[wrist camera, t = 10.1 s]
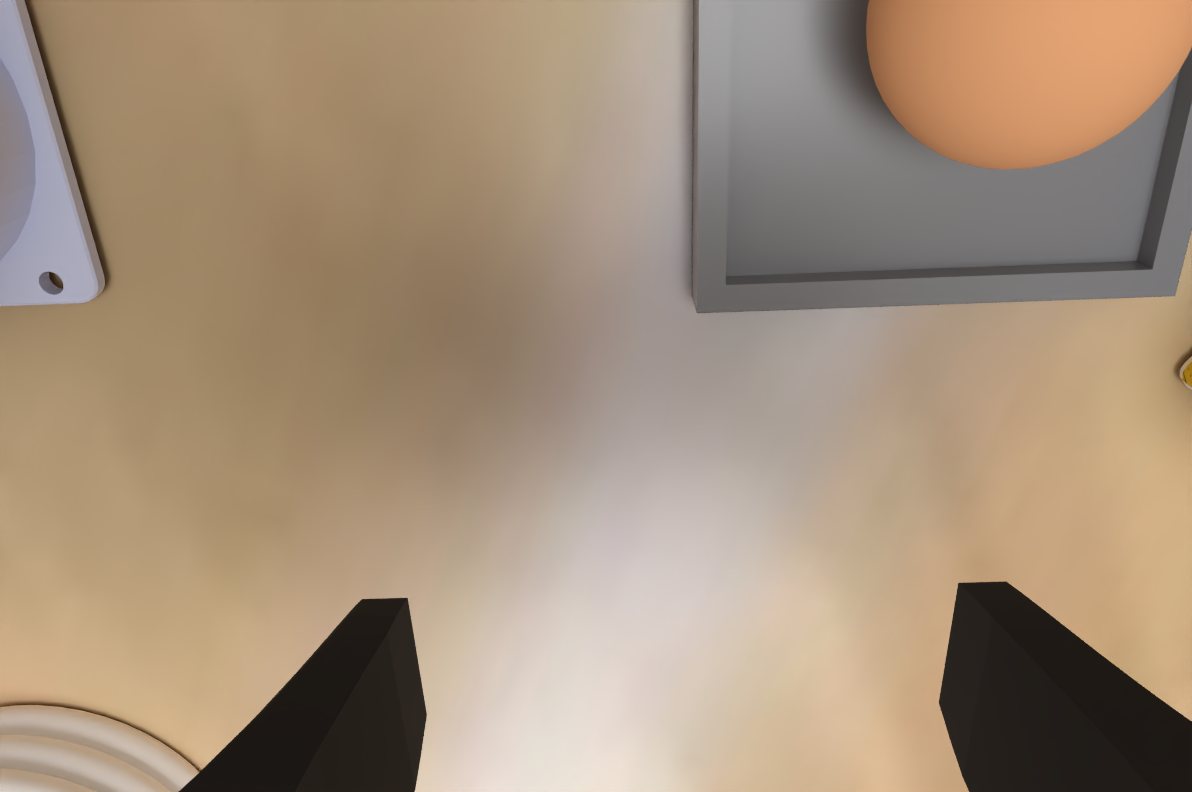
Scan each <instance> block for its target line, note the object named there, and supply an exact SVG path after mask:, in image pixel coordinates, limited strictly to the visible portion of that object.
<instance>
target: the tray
mask: <svg viewBox="0 0 1192 792" xmlns="http://www.w3.org/2000/svg"><path fill="white" fill-rule="evenodd" d="M868 3H869V0H693V182H692V297H693V300H694V304H695V308H696V312H697V313H714V312H742V311H771V310H799V309H827V308H855V307H883V306H911V305H940V304H968V303H996V302H1024V301H1052V300H1080V299H1108V298H1137V297H1165V296H1175V294H1176V290H1177V286H1178V282H1179V278H1180V274H1181V270H1182V266H1183V262H1184V258H1185V254H1186V250H1187V246H1188V242H1189V238H1190V234H1191V230H1192V48H1191V50H1190V52H1189V54H1188V56H1187V58H1186V60H1185V61H1184V63H1183V65H1182V67H1181V68H1180V70H1179V72H1178V73H1177V74H1176V76H1175V77H1174V79H1173V80H1172V81H1171V83H1170V84H1169V86H1168V87H1167V88H1166V90H1165V91H1164V92H1163V93H1162V94H1161V95H1160V97H1159V98H1158V99H1157V100H1156V101H1155V102H1154V103H1153V104H1152V106H1151V107H1150V108H1149V109H1148V110H1147V111H1146V112H1144V113H1143V114H1142V115H1141V116H1140V117H1139V118H1138V119H1137V120H1136V121H1135V122H1133V123H1132V124H1131V125H1129V126H1128V127H1127V128H1125V129H1124V130H1123V131H1121V132H1120V133H1119V134H1117V135H1115V136H1114V137H1112V138H1110V139H1109V140H1107V141H1105V142H1104V143H1102V144H1100V145H1099V146H1097V147H1095V148H1093V149H1091V150H1089V151H1087V152H1085V153H1082V154H1080V155H1078V156H1075V157H1072V158H1069V159H1066V160H1063V161H1060V162H1057V163H1053V164H1049V165H1044V166H1039V167H1034V168H1026V169H990V168H982V167H977V166H973V165H969V164H965V163H961V162H958V161H955V160H952V159H950V158H947V157H945V156H942V155H941V154H939V153H937V152H935V151H934V150H932V149H930V148H928V147H927V146H925V145H924V144H922V143H921V142H919V141H918V140H917V139H916V138H914V137H913V136H912V135H911V134H909V133H908V132H907V131H906V130H905V128H904V127H903V126H902V125H901V124H900V123H899V122H898V121H897V120H896V118H895V117H894V116H893V114H892V113H891V111H890V110H889V108H888V107H887V105H886V104H885V102H884V101H883V99H882V97H881V95H880V92H879V90H878V88H877V86H876V84H875V81H874V77H873V74H872V71H871V68H870V62H869V57H868V51H867V37H866V22H867V9H868Z"/></svg>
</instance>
